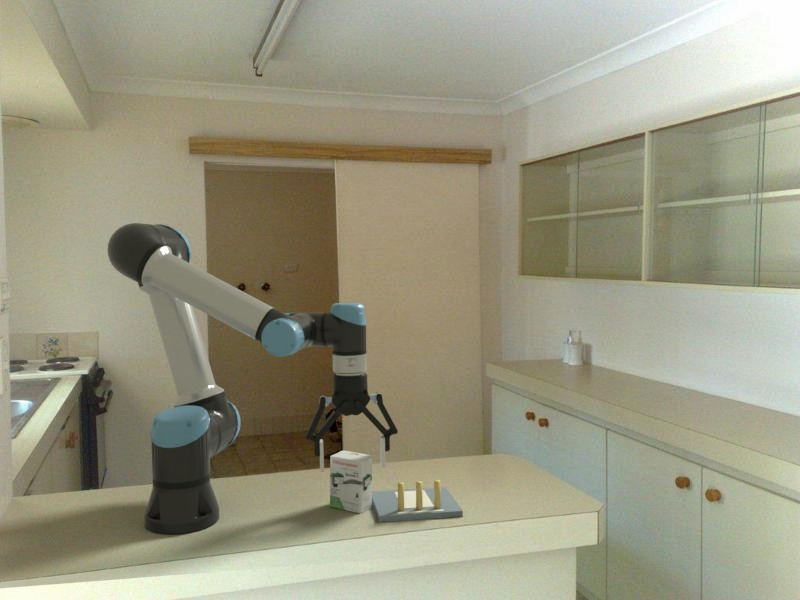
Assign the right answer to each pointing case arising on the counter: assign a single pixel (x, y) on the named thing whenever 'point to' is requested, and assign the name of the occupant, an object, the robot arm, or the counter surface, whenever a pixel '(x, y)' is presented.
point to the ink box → (351, 481)
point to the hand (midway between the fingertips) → (352, 467)
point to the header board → (415, 503)
